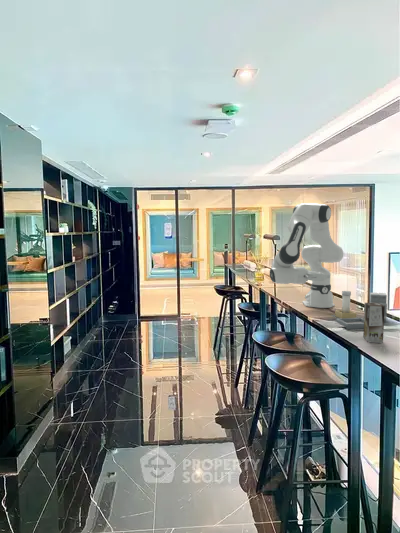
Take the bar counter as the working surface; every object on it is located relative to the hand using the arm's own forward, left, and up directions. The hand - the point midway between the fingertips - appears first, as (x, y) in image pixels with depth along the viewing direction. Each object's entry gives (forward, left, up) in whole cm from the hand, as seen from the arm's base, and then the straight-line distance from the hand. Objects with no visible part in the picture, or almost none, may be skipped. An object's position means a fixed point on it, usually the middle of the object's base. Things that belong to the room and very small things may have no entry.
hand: (325, 275), depth 210 cm
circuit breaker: (+9, +25, -25) cm, 36 cm away
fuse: (0, +12, -23) cm, 26 cm away
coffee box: (+39, +5, -25) cm, 46 cm away
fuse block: (0, +12, -24) cm, 27 cm away
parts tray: (+15, +9, -24) cm, 30 cm away
